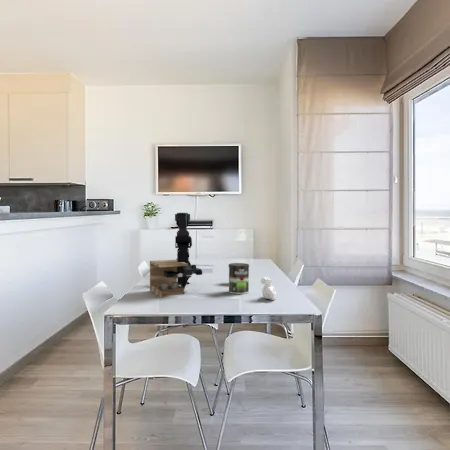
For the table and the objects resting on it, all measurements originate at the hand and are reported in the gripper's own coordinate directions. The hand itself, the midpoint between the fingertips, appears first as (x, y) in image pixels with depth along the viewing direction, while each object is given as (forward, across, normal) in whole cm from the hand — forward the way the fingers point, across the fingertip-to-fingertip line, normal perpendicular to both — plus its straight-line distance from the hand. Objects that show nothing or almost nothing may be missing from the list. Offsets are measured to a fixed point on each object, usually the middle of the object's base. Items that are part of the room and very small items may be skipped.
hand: (183, 289), depth 198 cm
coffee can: (+2, +25, -12) cm, 28 cm away
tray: (+1, -7, 0) cm, 7 cm away
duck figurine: (+2, +31, -31) cm, 44 cm away
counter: (+1, -8, 0) cm, 8 cm away
